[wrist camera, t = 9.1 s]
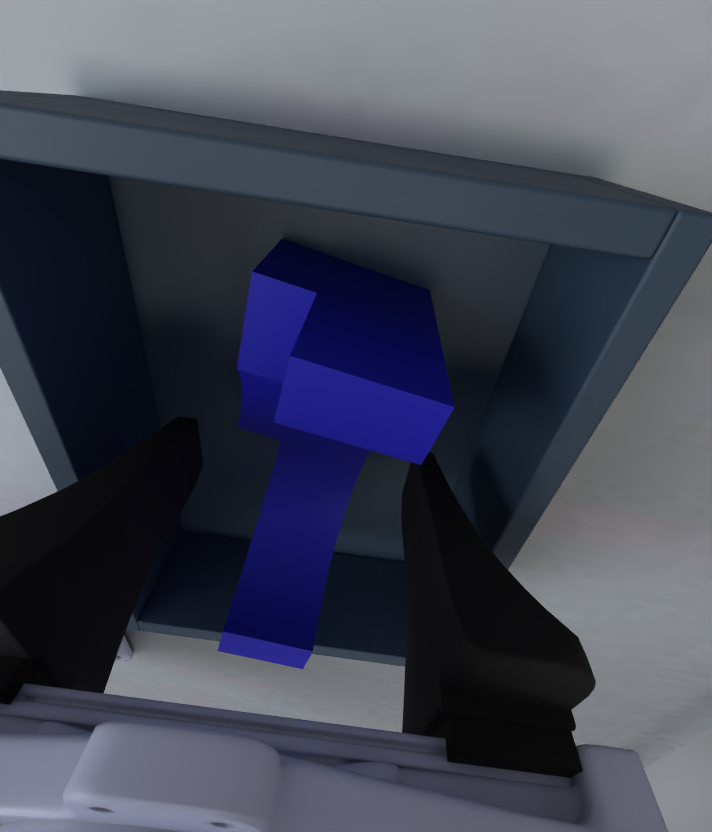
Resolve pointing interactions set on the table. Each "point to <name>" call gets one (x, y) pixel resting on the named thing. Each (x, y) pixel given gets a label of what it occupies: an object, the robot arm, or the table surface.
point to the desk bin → (226, 306)
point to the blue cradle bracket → (324, 424)
